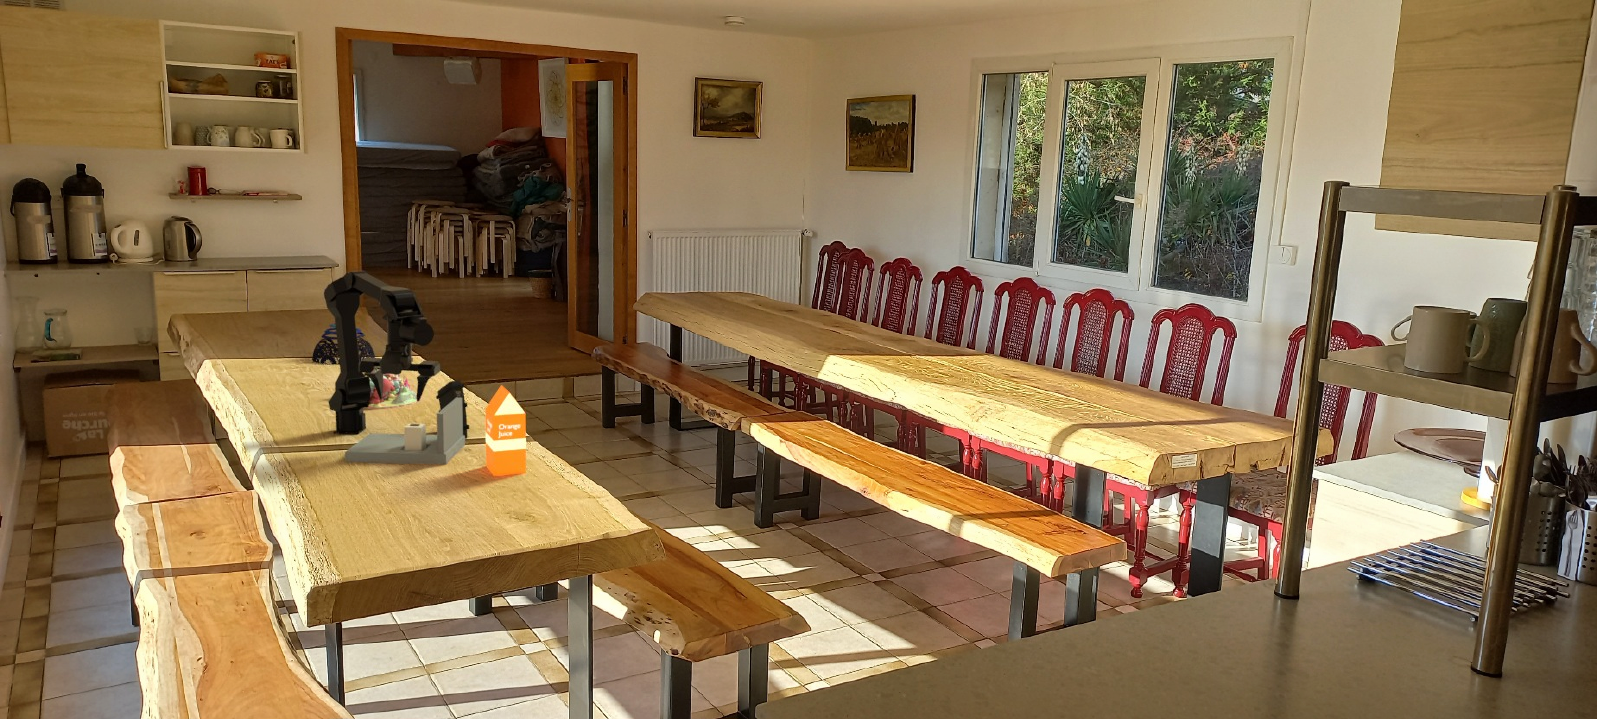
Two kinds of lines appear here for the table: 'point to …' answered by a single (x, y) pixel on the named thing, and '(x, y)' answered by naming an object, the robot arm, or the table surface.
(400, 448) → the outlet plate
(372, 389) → the candy landscape model
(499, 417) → the orange juice
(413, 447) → the block
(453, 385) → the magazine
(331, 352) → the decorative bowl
